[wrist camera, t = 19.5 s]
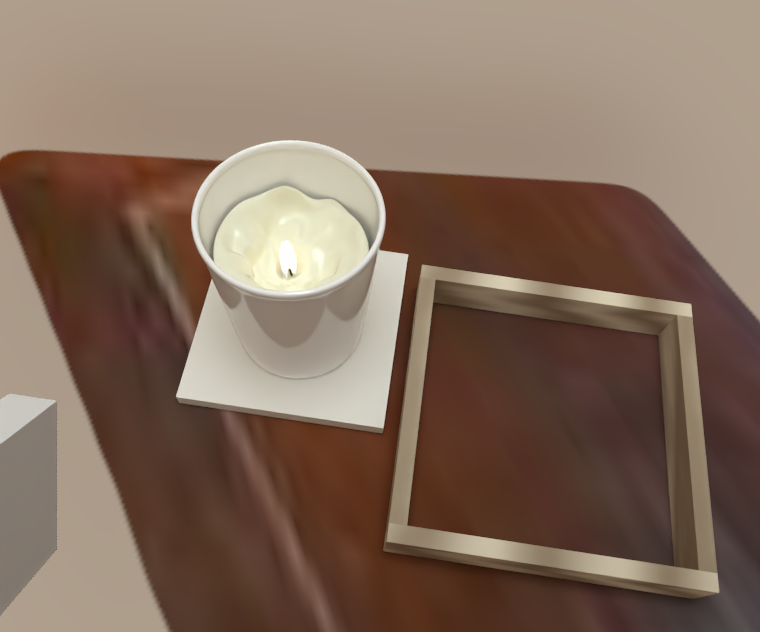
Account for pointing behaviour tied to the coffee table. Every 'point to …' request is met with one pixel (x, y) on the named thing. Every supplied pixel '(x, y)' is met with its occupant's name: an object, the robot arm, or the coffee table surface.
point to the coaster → (310, 395)
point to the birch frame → (681, 426)
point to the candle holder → (292, 252)
